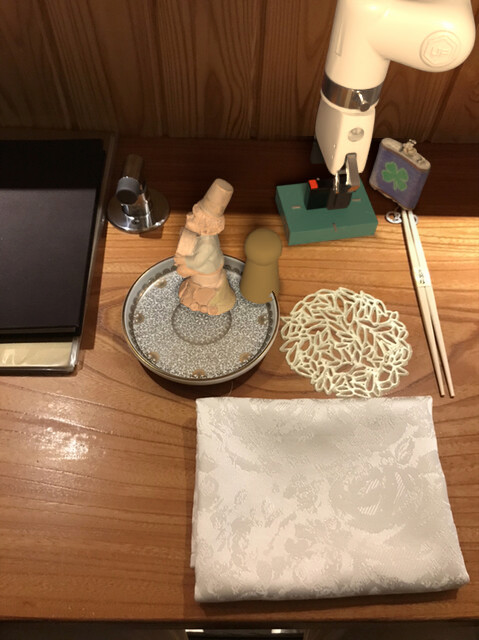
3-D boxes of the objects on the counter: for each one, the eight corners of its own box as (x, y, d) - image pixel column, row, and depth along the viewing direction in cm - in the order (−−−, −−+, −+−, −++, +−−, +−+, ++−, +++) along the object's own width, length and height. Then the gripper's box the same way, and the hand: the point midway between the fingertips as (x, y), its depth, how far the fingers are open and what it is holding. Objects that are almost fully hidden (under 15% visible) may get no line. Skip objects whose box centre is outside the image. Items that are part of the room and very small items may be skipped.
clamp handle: (346, 197, 89) (352, 174, 85) (349, 205, 89) (355, 183, 85) (303, 202, 89) (307, 179, 85) (306, 210, 88) (310, 188, 84)
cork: (233, 295, 82) (234, 247, 73) (247, 265, 86) (250, 216, 76) (271, 309, 81) (278, 262, 72) (285, 278, 84) (293, 229, 75)
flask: (365, 183, 95) (380, 132, 86) (376, 175, 97) (392, 123, 88) (409, 213, 92) (430, 163, 83) (419, 204, 93) (441, 154, 84)
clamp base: (355, 187, 95) (359, 173, 92) (375, 238, 89) (379, 224, 86) (274, 196, 93) (275, 182, 91) (289, 248, 88) (291, 235, 85)
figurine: (238, 272, 85) (241, 173, 68) (234, 320, 80) (237, 225, 63) (179, 269, 85) (168, 168, 68) (172, 316, 80) (158, 220, 63)
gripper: (402, 127, 67) (368, 224, 81) (360, 42, 76) (336, 143, 90) (341, 132, 66) (318, 230, 80) (306, 45, 75) (291, 147, 89)
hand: (328, 184), depth 85 cm, fingers open, 9 cm apart
